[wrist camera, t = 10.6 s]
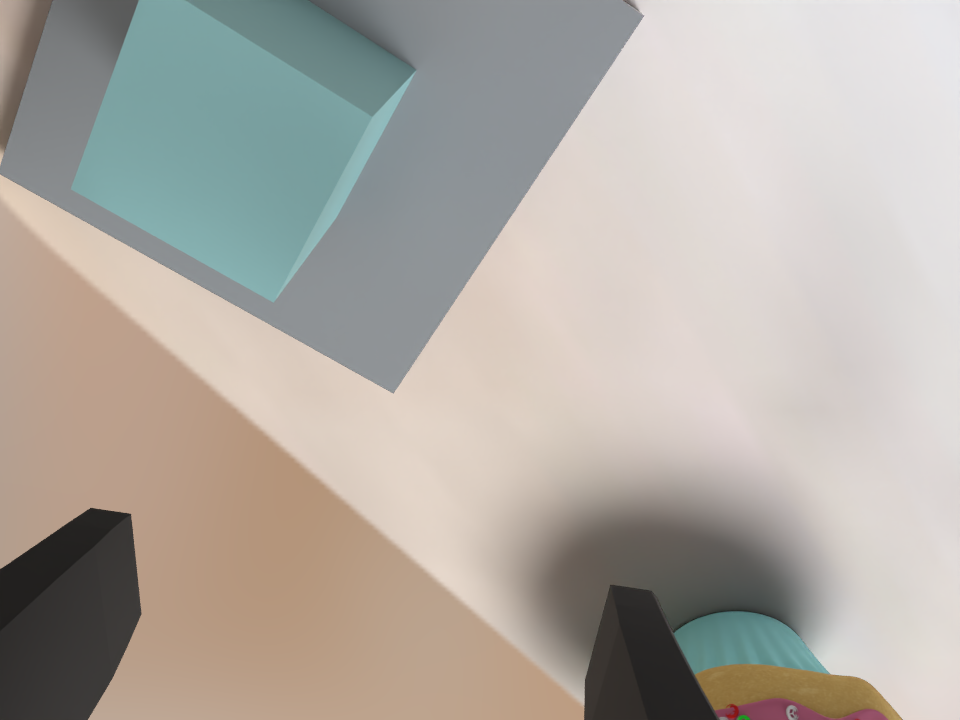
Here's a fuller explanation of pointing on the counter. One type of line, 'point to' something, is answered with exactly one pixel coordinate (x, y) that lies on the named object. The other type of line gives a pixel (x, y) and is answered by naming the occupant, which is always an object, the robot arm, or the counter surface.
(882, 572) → the counter surface
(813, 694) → the cupcake
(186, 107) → the teal block
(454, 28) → the slate coaster
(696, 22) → the counter surface
